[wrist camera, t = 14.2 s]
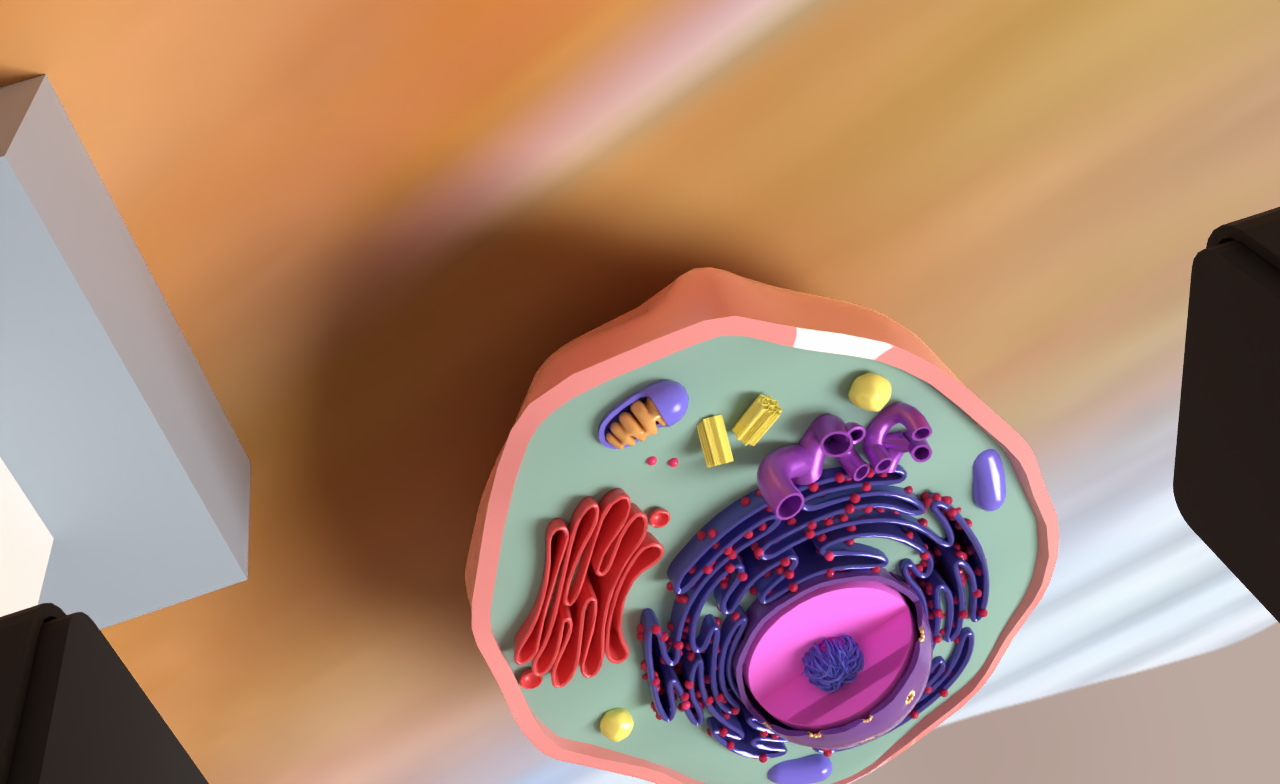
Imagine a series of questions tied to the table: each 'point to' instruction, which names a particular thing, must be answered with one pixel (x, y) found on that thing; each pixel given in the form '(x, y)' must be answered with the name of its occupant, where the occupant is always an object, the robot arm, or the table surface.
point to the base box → (104, 390)
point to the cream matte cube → (20, 547)
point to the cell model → (751, 541)
